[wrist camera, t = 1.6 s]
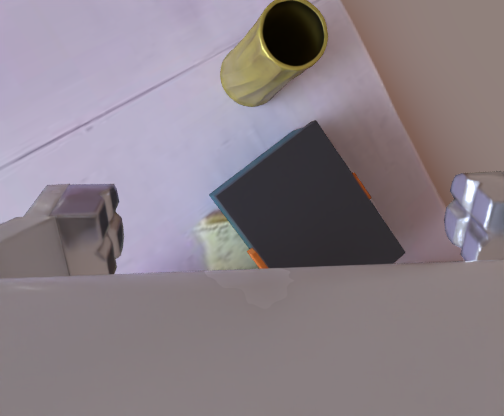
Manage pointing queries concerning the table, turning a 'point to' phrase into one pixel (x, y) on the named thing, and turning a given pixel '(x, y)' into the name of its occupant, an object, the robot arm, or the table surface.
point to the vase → (274, 51)
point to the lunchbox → (305, 208)
